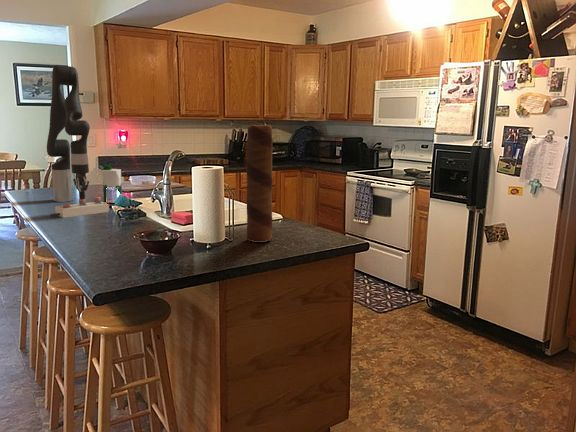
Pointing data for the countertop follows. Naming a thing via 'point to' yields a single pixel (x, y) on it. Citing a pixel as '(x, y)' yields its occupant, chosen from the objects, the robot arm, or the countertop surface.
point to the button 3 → (97, 199)
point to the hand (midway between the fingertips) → (82, 199)
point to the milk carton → (111, 179)
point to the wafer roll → (259, 182)
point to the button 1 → (66, 206)
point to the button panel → (81, 209)
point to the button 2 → (82, 201)
